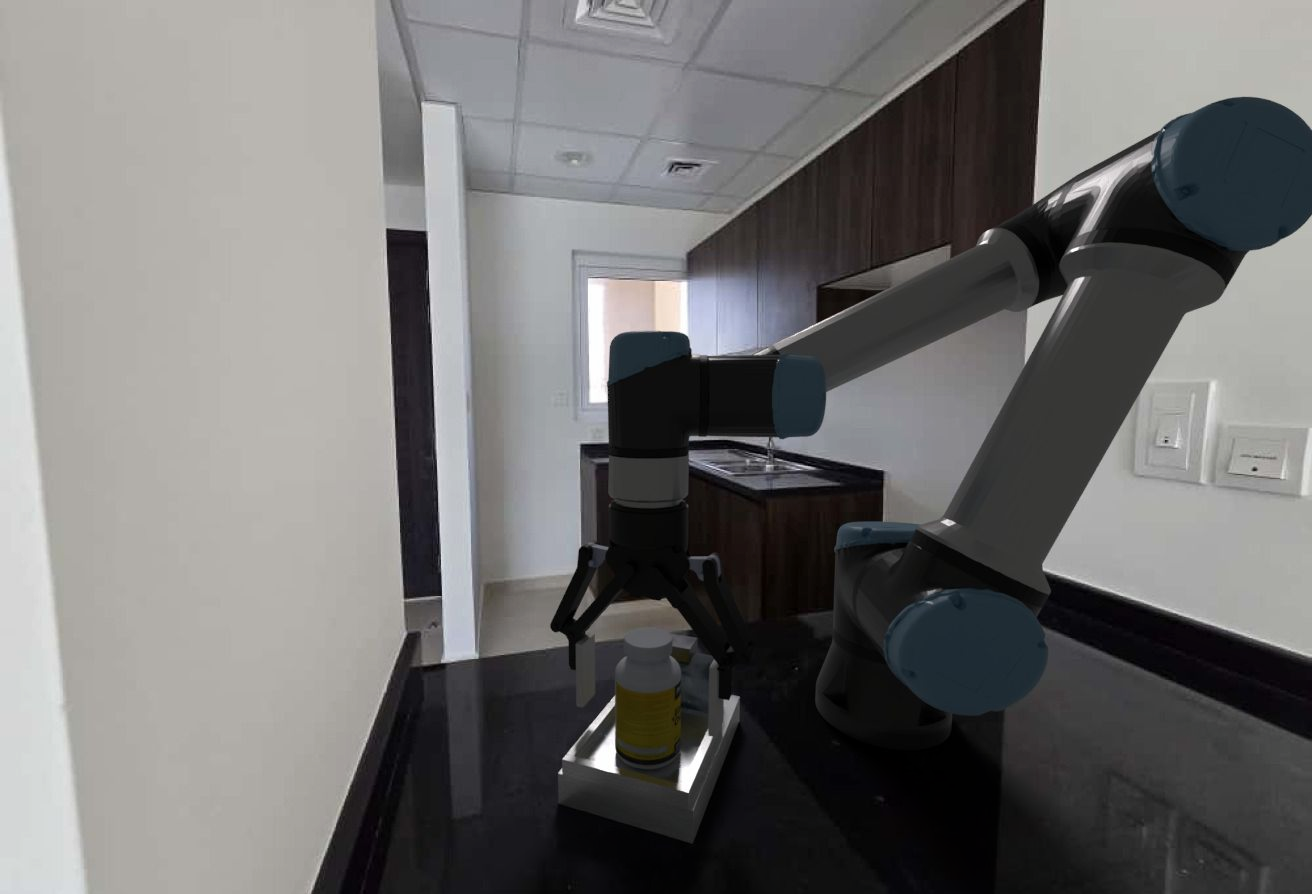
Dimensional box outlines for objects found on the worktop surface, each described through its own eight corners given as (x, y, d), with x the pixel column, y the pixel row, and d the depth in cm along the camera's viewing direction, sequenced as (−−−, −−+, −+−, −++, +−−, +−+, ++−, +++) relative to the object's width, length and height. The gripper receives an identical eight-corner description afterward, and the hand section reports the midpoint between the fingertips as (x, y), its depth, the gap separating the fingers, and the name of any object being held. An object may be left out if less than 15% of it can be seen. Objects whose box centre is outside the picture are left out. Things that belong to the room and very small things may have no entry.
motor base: (692, 843, 47) (694, 727, 46) (558, 803, 52) (557, 697, 51) (739, 721, 65) (741, 635, 64) (636, 699, 69) (636, 618, 68)
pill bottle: (674, 778, 51) (675, 656, 50) (606, 768, 52) (606, 649, 51) (685, 735, 57) (686, 626, 56) (624, 727, 59) (624, 620, 57)
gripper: (788, 501, 52) (783, 718, 54) (553, 485, 60) (556, 672, 62) (777, 518, 45) (770, 767, 47) (512, 497, 53) (517, 708, 55)
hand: (648, 714), depth 54 cm, fingers open, 13 cm apart
